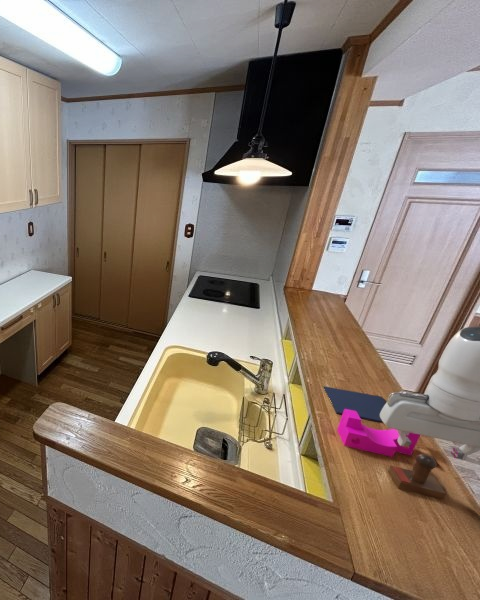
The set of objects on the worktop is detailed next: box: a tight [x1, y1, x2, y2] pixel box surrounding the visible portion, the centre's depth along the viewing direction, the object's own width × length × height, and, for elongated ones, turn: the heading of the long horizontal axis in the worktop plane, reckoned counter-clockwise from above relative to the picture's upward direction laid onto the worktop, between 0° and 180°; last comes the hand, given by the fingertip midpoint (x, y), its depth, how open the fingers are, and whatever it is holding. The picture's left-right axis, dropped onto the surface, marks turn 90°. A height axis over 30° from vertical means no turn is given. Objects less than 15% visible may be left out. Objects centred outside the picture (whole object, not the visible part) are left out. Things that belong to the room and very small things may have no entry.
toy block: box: [336, 409, 421, 458], centre depth 86 cm, size 15×6×8 cm, turn 68°
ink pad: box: [323, 385, 387, 424], centre depth 102 cm, size 16×14×1 cm
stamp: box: [387, 453, 447, 501], centre depth 74 cm, size 8×5×9 cm, turn 68°
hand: (429, 450), depth 72 cm, fingers open, 8 cm apart
